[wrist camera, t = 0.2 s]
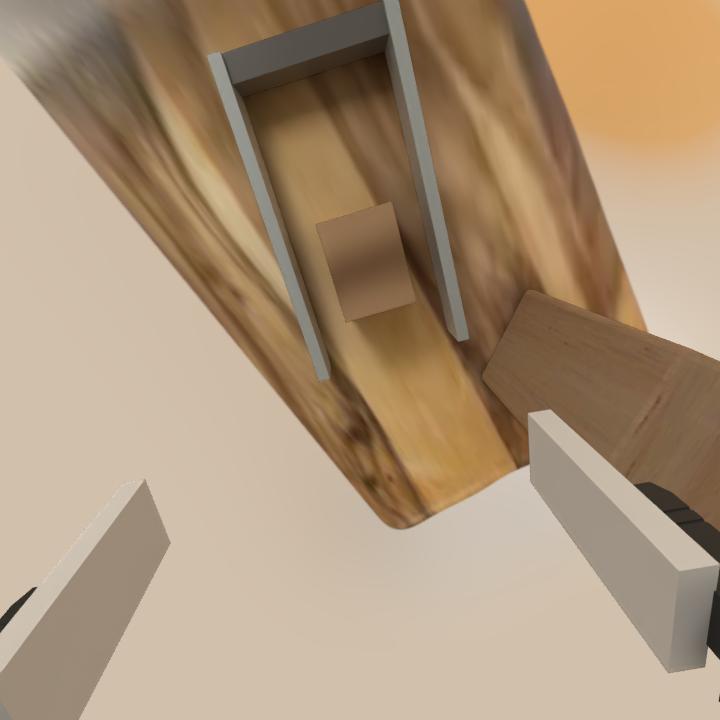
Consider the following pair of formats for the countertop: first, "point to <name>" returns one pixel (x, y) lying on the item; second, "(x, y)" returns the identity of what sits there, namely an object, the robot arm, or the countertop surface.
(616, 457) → the wooden block
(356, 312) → the walnut block
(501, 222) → the countertop surface
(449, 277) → the grey u-shaped frame
